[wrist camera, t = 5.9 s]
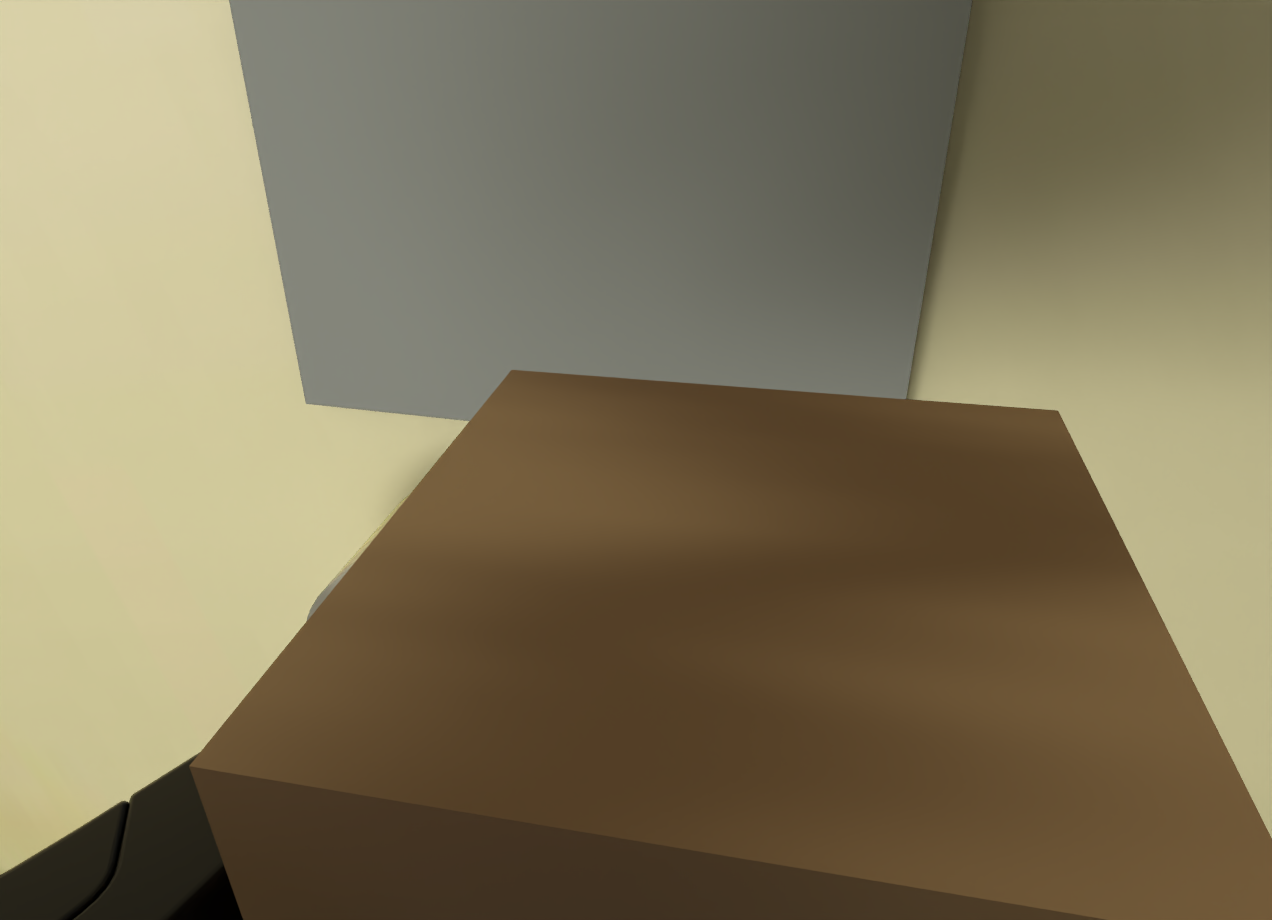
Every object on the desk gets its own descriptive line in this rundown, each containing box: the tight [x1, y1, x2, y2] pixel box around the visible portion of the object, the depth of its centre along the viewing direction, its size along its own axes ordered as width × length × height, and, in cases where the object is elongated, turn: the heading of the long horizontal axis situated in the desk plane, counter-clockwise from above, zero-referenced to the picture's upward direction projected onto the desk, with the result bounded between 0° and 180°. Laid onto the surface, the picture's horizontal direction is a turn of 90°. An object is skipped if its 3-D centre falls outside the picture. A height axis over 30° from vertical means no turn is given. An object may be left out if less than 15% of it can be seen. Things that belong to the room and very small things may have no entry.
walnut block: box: [189, 370, 1272, 920], centre depth 7 cm, size 5×5×5 cm
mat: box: [229, 0, 972, 421], centre depth 17 cm, size 14×14×1 cm
